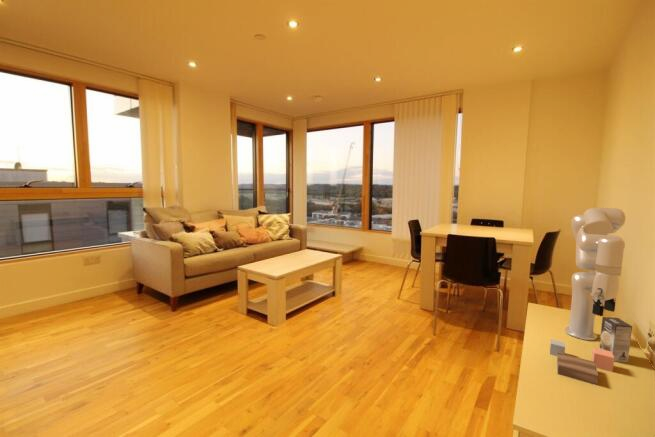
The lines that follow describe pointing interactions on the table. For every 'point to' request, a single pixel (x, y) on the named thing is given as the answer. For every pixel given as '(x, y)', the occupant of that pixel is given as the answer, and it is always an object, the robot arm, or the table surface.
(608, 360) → the terracotta cube
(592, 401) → the table surface
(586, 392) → the table surface
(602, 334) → the coffee box
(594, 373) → the walnut block
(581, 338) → the robot arm
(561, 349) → the grey cube
